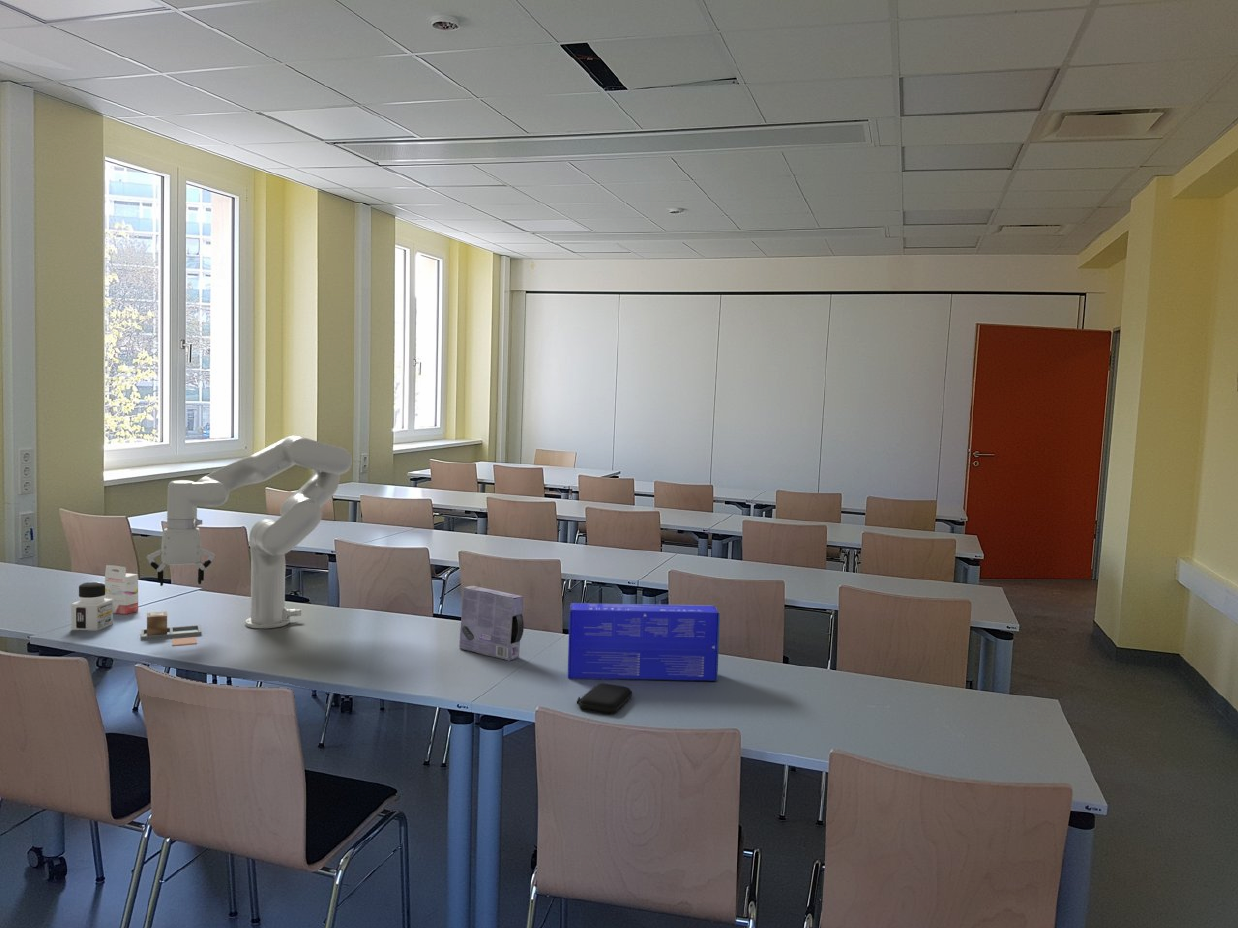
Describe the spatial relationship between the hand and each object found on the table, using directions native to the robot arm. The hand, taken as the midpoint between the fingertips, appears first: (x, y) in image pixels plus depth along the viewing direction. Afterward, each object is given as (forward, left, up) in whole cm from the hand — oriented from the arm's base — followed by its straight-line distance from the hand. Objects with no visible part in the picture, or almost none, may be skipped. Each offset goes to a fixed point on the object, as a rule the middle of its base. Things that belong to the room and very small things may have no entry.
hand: (180, 584), depth 249 cm
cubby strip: (+2, 0, -15) cm, 15 cm away
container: (+22, -16, -15) cm, 31 cm away
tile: (-1, +9, -15) cm, 17 cm away
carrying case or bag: (-87, +94, -15) cm, 129 cm away
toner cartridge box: (-106, +80, -15) cm, 133 cm away
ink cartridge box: (+15, -33, -15) cm, 39 cm away
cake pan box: (-76, +48, -15) cm, 91 cm away
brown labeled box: (+6, 0, -14) cm, 15 cm away
